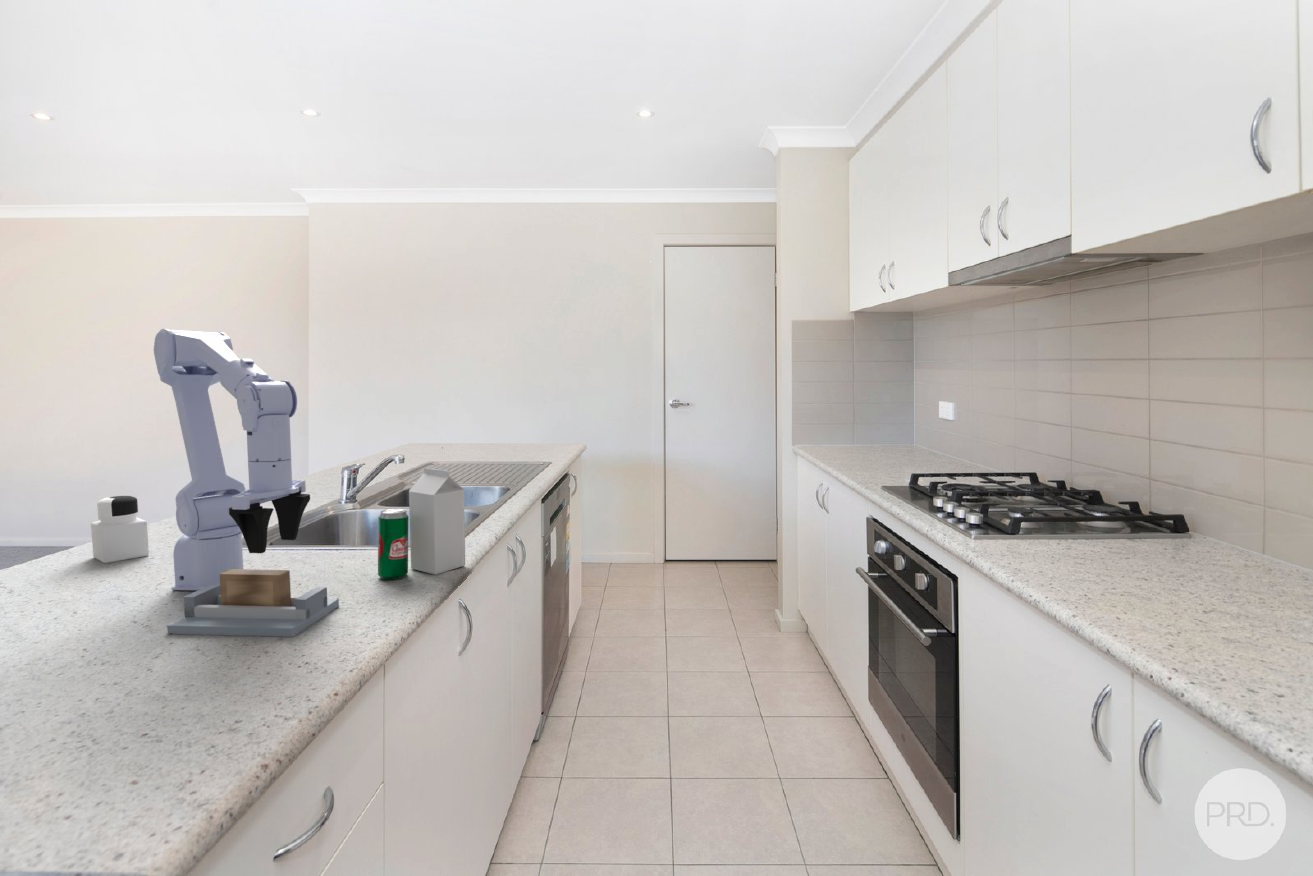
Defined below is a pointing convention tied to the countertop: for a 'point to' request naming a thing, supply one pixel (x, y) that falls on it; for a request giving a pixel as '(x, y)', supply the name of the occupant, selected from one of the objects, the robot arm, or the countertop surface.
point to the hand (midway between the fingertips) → (273, 545)
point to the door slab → (255, 587)
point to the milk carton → (436, 523)
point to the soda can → (393, 544)
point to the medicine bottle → (119, 530)
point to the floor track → (250, 615)
